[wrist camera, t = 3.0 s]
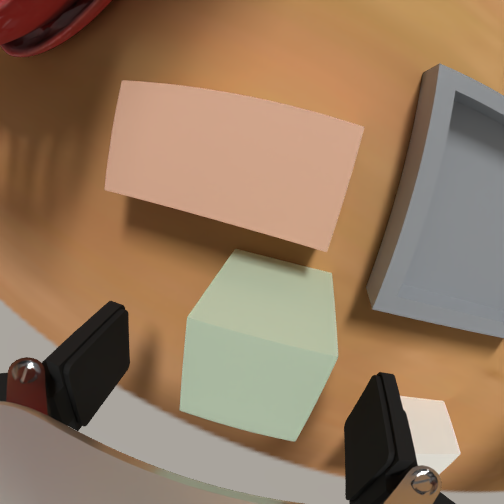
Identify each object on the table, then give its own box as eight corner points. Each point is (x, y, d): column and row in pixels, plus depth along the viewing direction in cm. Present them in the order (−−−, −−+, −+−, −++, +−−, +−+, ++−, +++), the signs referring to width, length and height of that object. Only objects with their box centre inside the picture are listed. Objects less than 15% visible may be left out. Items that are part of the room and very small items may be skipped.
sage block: (331, 272, 14) (338, 356, 9) (305, 349, 16) (294, 441, 10) (235, 248, 15) (187, 317, 9) (221, 327, 16) (179, 410, 11)
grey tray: (570, 156, 9) (593, 162, 7) (514, 324, 13) (529, 343, 11) (422, 72, 10) (439, 63, 8) (365, 287, 14) (372, 309, 12)
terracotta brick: (353, 129, 12) (364, 127, 9) (324, 228, 14) (326, 252, 11) (157, 88, 13) (122, 80, 10) (140, 178, 15) (104, 189, 12)
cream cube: (443, 400, 15) (460, 453, 11) (410, 441, 17) (418, 492, 13) (384, 392, 16) (393, 452, 12) (354, 436, 18) (355, 491, 13)
